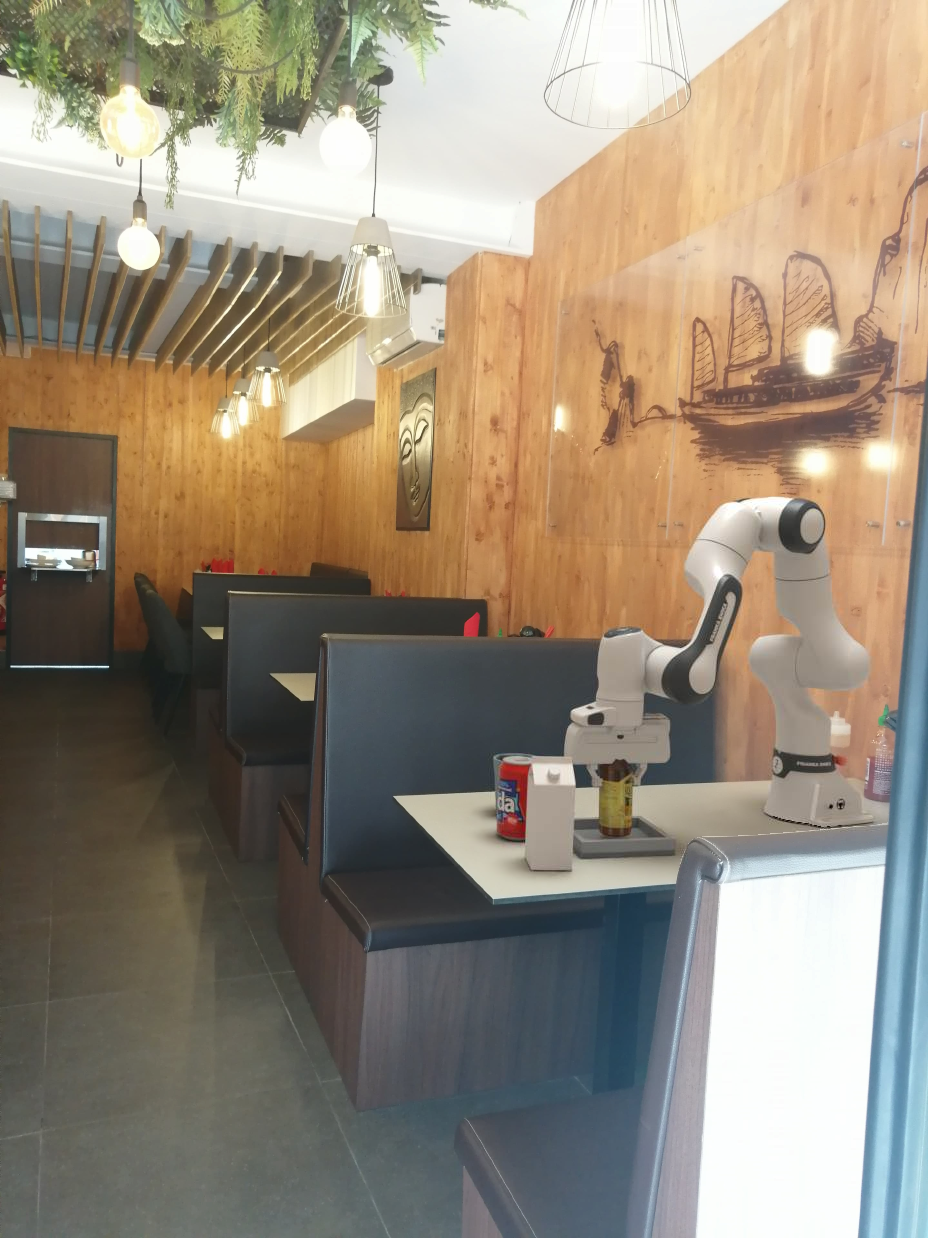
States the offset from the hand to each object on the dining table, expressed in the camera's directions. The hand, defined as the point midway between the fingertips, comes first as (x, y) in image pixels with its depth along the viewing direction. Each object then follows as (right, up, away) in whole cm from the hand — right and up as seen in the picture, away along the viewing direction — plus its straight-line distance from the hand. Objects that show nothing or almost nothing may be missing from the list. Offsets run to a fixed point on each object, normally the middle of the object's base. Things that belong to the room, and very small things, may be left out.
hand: (615, 786), depth 167 cm
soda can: (-19, -10, +3) cm, 22 cm away
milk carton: (-14, -12, -12) cm, 22 cm away
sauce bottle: (0, -9, +1) cm, 9 cm away
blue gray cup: (-18, -10, +19) cm, 28 cm away
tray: (0, -11, +1) cm, 11 cm away
